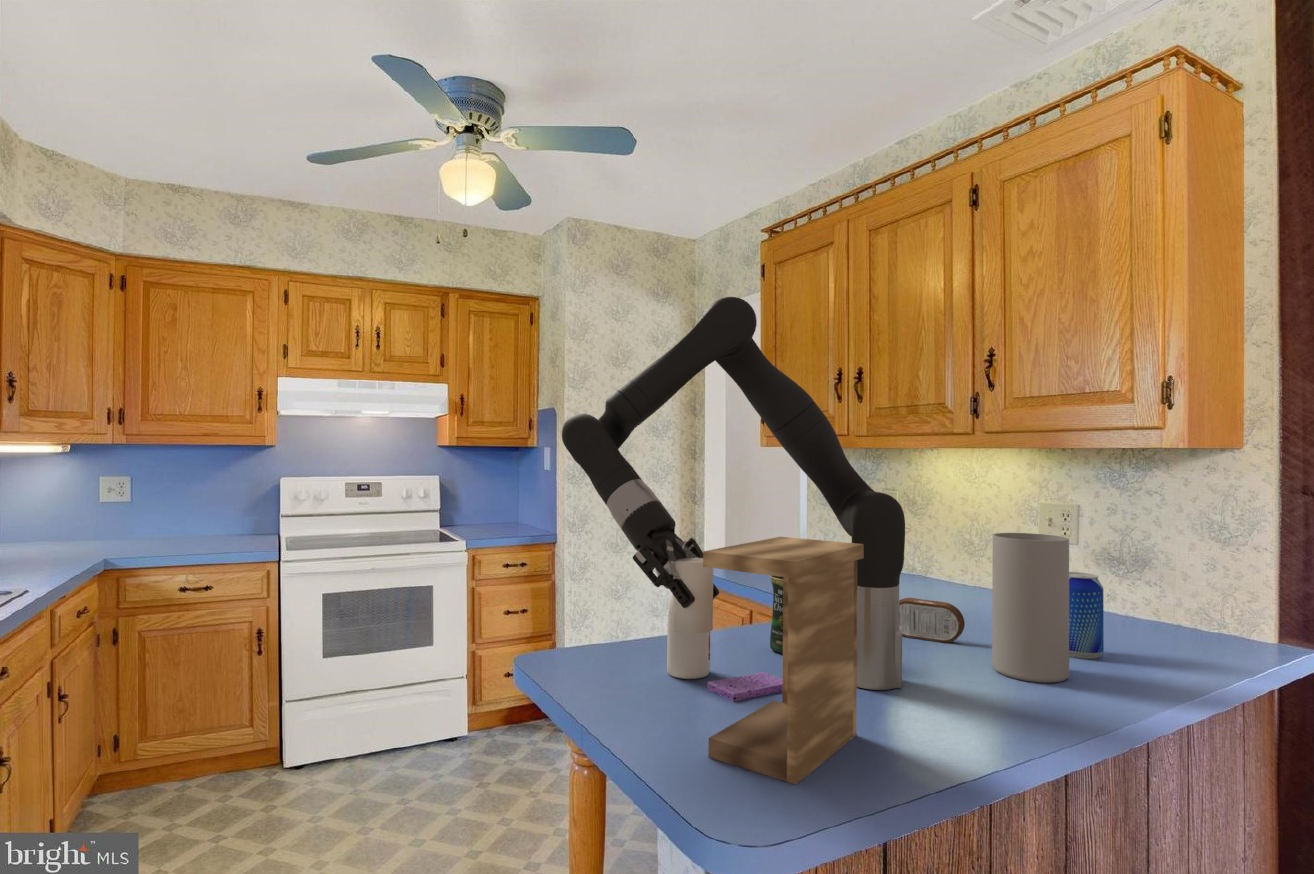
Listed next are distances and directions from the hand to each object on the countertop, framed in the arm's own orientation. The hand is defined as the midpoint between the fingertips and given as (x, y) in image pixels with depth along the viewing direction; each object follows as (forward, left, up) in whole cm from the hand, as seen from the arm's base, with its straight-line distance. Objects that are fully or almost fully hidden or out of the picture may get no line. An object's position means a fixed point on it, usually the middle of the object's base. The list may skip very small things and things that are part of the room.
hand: (702, 600), depth 106 cm
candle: (+1, -1, -4) cm, 5 cm away
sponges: (-7, -17, -19) cm, 26 cm away
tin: (-45, -56, -18) cm, 74 cm away
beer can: (-73, -49, -18) cm, 90 cm away
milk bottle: (+4, -24, -18) cm, 30 cm away
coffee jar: (-16, -41, -18) cm, 47 cm away
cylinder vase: (-58, -34, -18) cm, 70 cm away
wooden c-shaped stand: (-12, +7, -18) cm, 23 cm away
